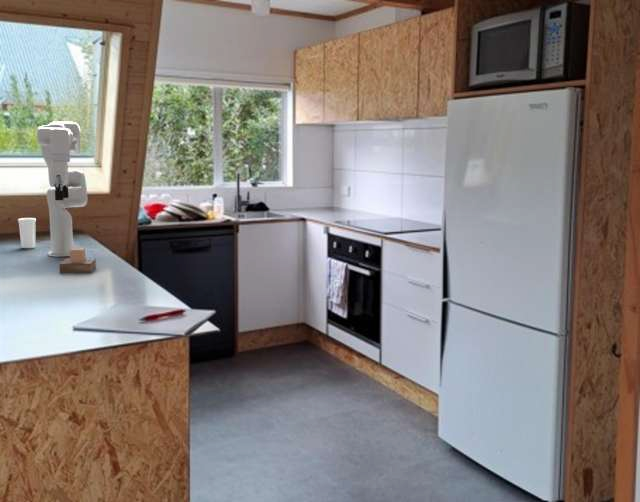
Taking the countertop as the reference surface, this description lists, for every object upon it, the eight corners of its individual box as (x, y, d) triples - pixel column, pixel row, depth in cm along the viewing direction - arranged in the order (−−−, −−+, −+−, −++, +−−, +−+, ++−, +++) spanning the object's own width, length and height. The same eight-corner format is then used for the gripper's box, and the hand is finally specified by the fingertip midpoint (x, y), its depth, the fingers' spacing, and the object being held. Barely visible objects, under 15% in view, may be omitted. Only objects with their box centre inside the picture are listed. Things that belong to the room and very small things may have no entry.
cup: (20, 246, 326) (18, 217, 323) (38, 246, 328) (36, 217, 326) (18, 249, 318) (16, 220, 316) (36, 249, 320) (35, 219, 318)
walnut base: (66, 267, 278) (65, 258, 278) (95, 267, 280) (95, 258, 280) (59, 273, 267) (59, 263, 266) (90, 273, 269) (90, 263, 268)
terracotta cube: (72, 259, 275) (72, 248, 274) (85, 259, 276) (84, 248, 275) (70, 262, 270) (69, 250, 269) (82, 262, 271) (82, 250, 270)
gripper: (55, 157, 285) (57, 197, 288) (45, 159, 268) (47, 201, 271) (73, 157, 286) (75, 197, 289) (65, 159, 269) (66, 201, 272)
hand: (62, 199), depth 280 cm, fingers open, 9 cm apart
